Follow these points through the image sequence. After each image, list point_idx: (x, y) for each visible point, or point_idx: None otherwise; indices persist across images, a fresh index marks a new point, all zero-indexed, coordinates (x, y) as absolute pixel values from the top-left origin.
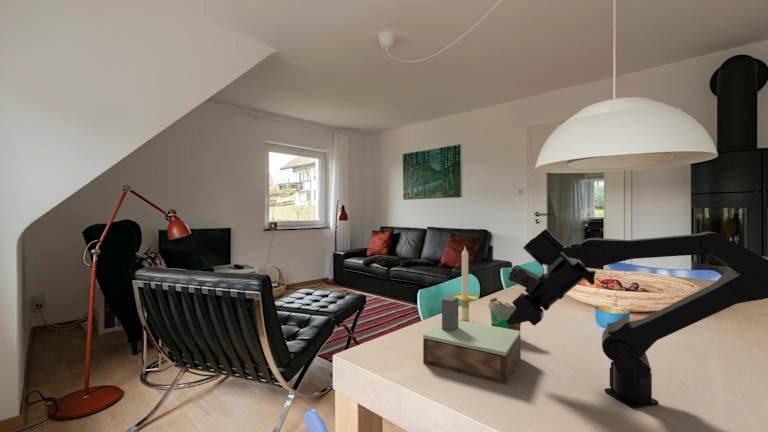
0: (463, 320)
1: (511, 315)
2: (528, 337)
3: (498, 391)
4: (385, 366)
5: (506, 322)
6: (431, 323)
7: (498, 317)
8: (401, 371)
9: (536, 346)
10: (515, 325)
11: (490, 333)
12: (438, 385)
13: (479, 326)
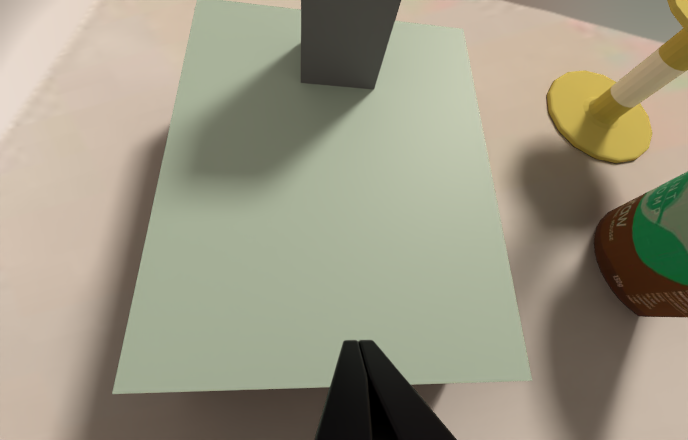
0: (606, 95)
1: (323, 415)
2: (682, 346)
3: (112, 362)
4: (151, 14)
5: (343, 343)
6: (537, 26)
7: (676, 210)
8: (137, 56)
9: (618, 401)
10: (684, 296)
11: (381, 237)
12: (82, 170)
13: (449, 165)
